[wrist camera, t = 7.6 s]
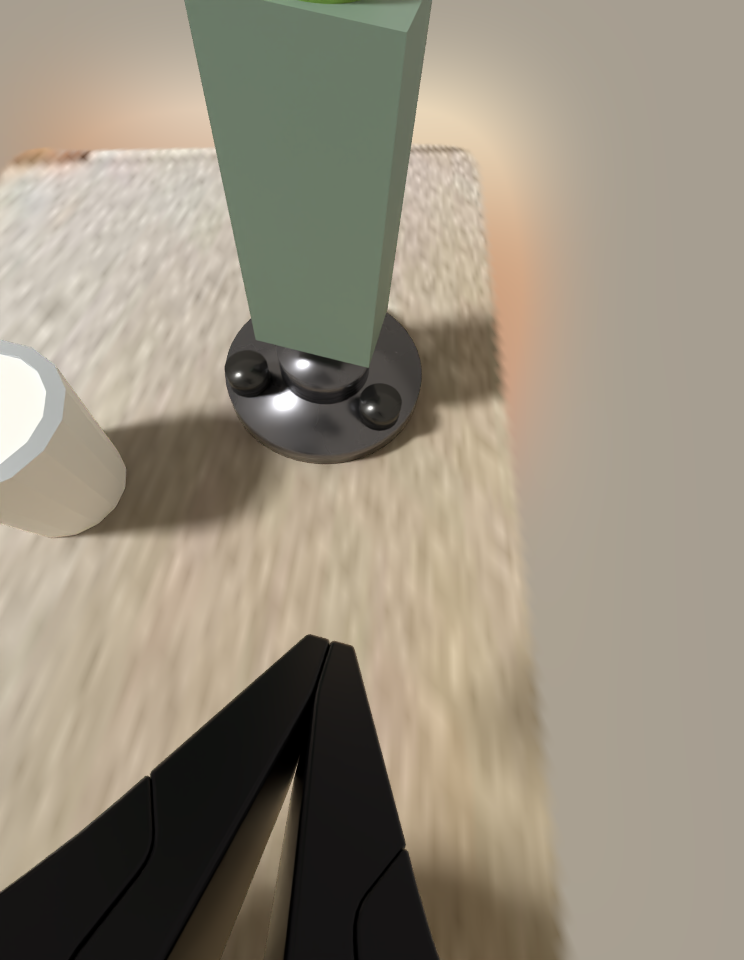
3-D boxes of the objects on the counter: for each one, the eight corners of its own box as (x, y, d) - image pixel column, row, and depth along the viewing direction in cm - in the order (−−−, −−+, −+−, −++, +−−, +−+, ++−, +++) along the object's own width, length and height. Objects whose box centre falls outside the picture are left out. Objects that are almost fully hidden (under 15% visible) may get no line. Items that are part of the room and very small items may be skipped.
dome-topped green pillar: (366, 386, 23) (417, -58, 9) (259, 359, 23) (160, -113, 10) (392, 304, 25) (460, -133, 12) (296, 280, 25) (259, -176, 12)
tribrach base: (395, 485, 24) (403, 461, 21) (199, 435, 24) (182, 405, 22) (433, 331, 28) (443, 294, 26) (267, 290, 29) (259, 250, 26)
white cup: (150, 524, 22) (74, 464, 16) (-1, 570, 21) (-151, 526, 15) (127, 411, 25) (54, 320, 18) (-10, 446, 23) (-142, 361, 17)
